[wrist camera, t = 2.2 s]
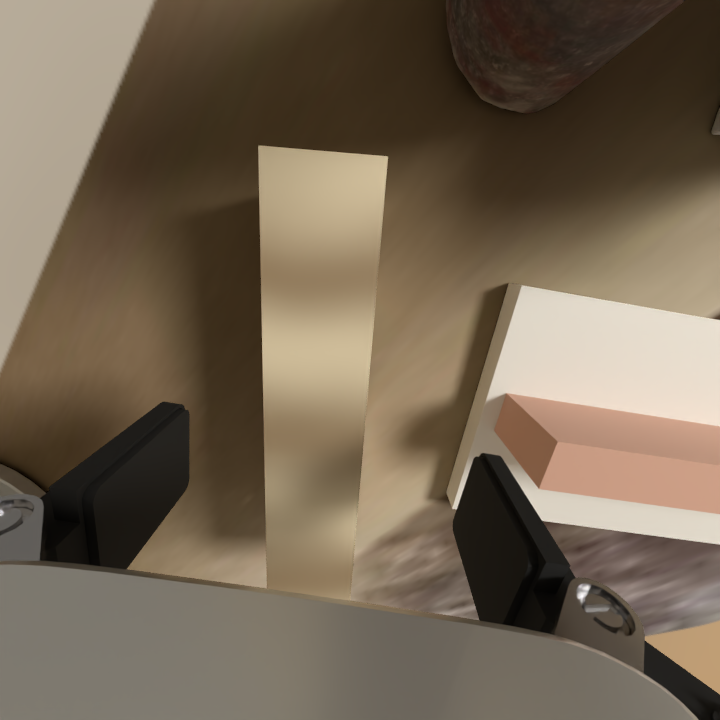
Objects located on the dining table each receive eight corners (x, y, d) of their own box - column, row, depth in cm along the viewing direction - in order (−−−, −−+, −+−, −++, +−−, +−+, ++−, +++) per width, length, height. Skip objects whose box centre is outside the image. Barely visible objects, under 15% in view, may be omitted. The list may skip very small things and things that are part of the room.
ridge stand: (745, 533, 24) (882, 632, 18) (446, 492, 22) (480, 583, 16) (869, 346, 20) (1107, 390, 13) (508, 282, 18) (587, 298, 12)
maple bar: (351, 511, 23) (348, 615, 16) (293, 508, 23) (267, 612, 16) (375, 193, 17) (388, 156, 10) (297, 187, 17) (258, 145, 10)
